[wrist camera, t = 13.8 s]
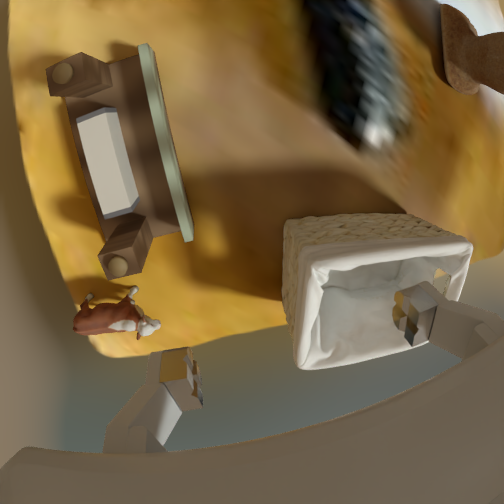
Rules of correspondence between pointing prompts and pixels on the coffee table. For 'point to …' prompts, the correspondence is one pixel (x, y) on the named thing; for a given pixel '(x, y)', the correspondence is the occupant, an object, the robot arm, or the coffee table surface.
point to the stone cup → (470, 54)
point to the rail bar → (108, 162)
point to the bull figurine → (114, 318)
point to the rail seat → (129, 151)
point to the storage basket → (359, 281)
